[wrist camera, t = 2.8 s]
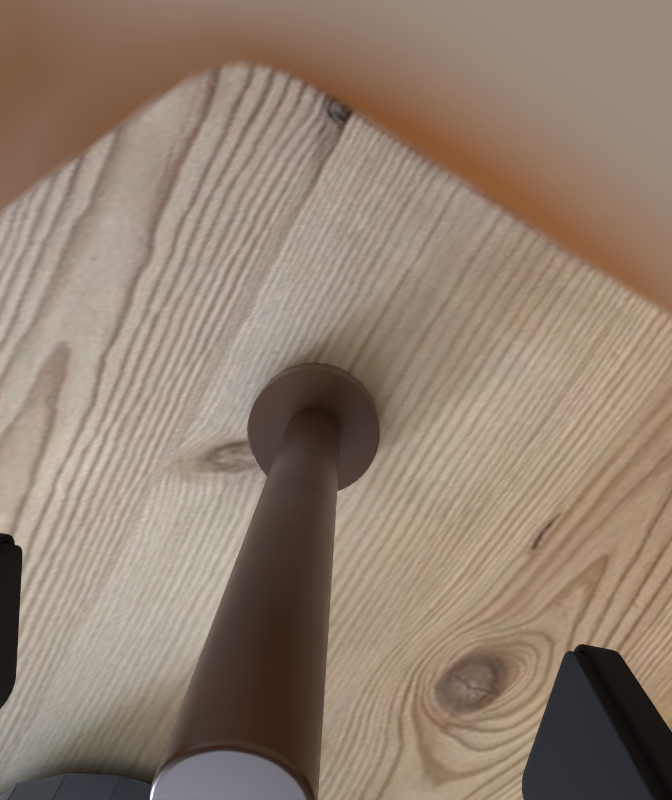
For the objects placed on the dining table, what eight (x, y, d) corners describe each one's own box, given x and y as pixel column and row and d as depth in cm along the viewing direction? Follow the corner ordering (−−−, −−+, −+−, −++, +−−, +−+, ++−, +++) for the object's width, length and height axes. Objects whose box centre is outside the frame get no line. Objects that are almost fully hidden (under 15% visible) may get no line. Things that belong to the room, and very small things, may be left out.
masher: (228, 407, 21) (-57, 763, 6) (331, 337, 20) (277, 562, 6) (300, 504, 22) (196, 1005, 7) (402, 441, 21) (512, 862, 7)
